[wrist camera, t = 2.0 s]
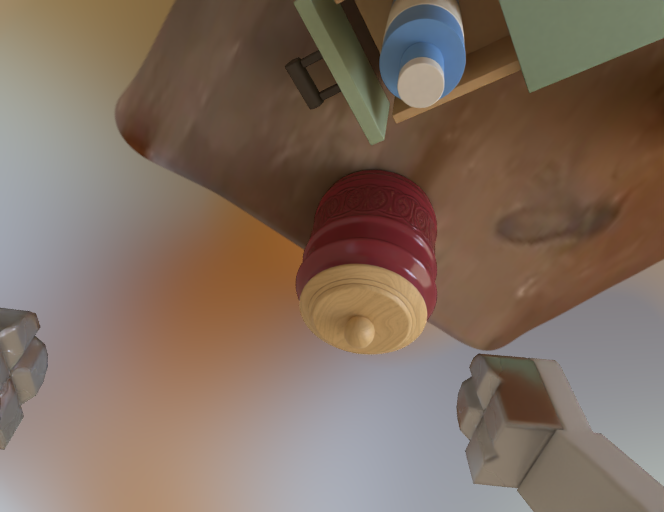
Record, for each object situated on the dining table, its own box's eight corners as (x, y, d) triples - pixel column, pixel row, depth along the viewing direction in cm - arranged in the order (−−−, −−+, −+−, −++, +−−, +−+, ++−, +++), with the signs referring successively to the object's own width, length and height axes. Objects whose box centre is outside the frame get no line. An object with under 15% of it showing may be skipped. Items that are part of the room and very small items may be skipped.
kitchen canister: (363, 278, 61) (344, 404, 48) (293, 203, 56) (249, 323, 42) (459, 232, 55) (467, 364, 41) (391, 143, 49) (375, 263, 36)
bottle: (444, -41, 37) (448, 18, 26) (469, 28, 39) (483, 107, 29) (378, -4, 39) (357, 64, 28) (407, 58, 42) (397, 143, 31)
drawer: (339, 127, 48) (327, 164, 43) (269, 4, 42) (245, 31, 36) (530, 40, 40) (544, 72, 35) (480, -125, 34) (488, -115, 29)
